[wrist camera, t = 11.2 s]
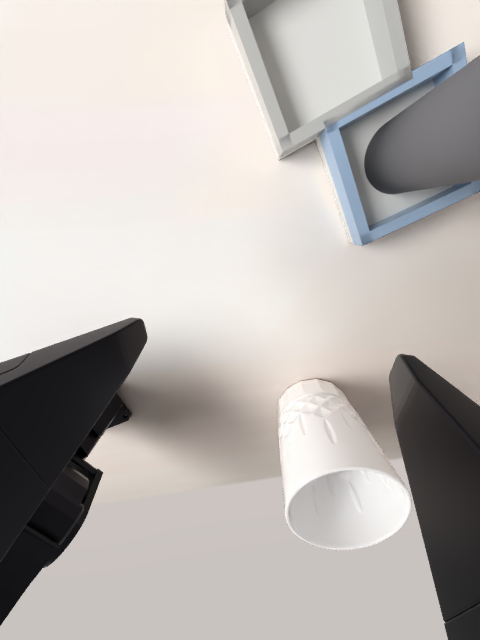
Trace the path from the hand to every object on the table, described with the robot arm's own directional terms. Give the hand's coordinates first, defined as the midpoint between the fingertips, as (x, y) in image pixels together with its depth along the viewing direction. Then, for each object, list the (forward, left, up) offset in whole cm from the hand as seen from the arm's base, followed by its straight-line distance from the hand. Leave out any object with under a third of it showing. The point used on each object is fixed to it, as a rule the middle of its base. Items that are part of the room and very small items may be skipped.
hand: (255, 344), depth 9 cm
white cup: (0, -15, -13) cm, 20 cm away
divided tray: (+10, +6, -13) cm, 17 cm away
